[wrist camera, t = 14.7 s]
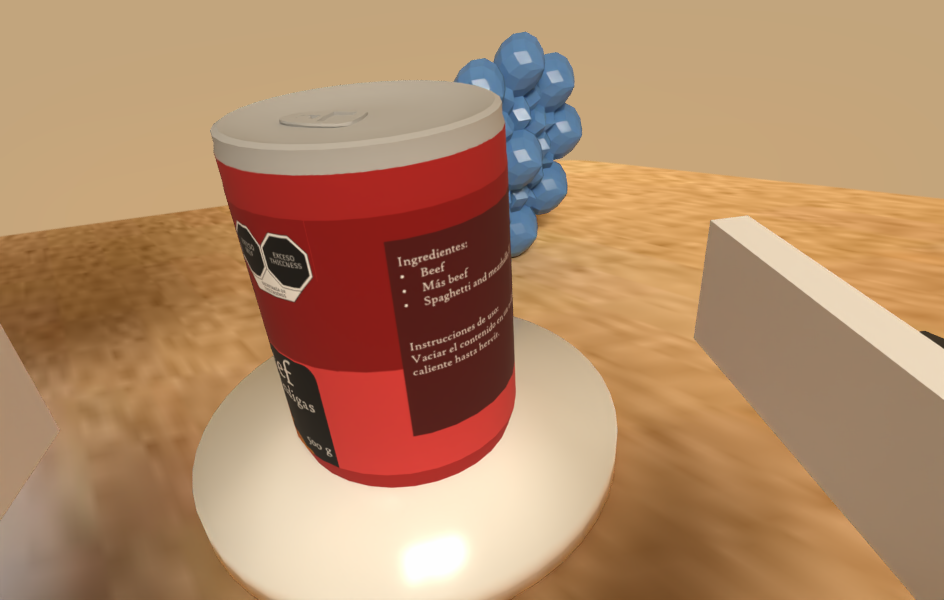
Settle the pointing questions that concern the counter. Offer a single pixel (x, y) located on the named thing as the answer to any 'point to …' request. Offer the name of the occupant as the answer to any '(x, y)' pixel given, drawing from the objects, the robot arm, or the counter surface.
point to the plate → (410, 494)
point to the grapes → (530, 127)
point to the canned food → (381, 269)
